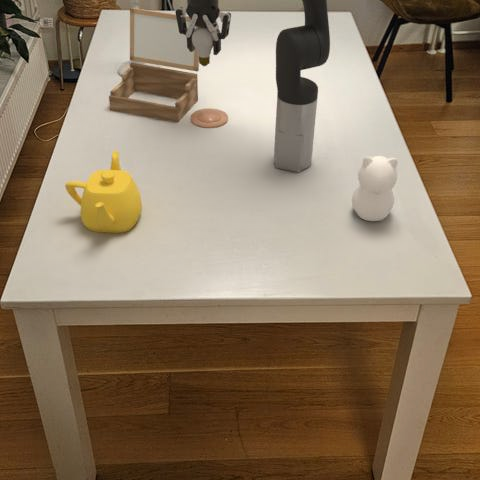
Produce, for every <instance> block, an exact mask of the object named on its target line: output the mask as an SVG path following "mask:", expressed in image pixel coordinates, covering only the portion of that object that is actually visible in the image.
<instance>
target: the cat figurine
mask: <svg viewBox="0 0 480 480" xmlns="http://www.w3.org/2000/svg"><path fill="white" fill-rule="evenodd" d="M397 166H398V158H396V157H389V158H388V157H387V156H386V157H385V156H384V155H375V156H365V157H364V158H363V159H362V164H360V167H359V170H358V172H357V178H358V179H357V180H358V184H357V185H356V186H355V188H354V190H353V193H352V196H351V203H352V207H353V209H354V211H355V212H356V214H357V215H358V217H359V218H361V219H363V220H364V221H368V222H381V221H383V220H385V219H386V217H388V216H389V214H390V212H391V211H392V209H393V207H394V204H395V193H394V190H393V189H394V187H395V185H396V183H397V180H398V170H397Z"/></svg>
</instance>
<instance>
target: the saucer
mask: <svg viewBox="0 0 480 480" xmlns="http://www.w3.org/2000/svg"><path fill="white" fill-rule="evenodd" d="M189 118H190V121H191V124H193V125H195V126H196V127H199V128H204V129H215V128H219V127H222V126H224V125H225V124H227V123H228V121H229V115H228V114H227V113H226V112H225V111H223V110H221V109H218V108H217V109H216V108H202V109H197V110H195V111H193V113H191V114H190V117H189Z"/></svg>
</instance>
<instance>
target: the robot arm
mask: <svg viewBox="0 0 480 480" xmlns="http://www.w3.org/2000/svg"><path fill="white" fill-rule="evenodd" d="M301 2H302V5H303V11H304V25H301V26H294V27H290V28H289V27H288V28H285V29H284V28H283V30H281V31H280V32H279V34H278V36H277V38H276V43H275V83H276V89H277V90H276V91H277V92H276V93H277V95H276V96H277V97H276V98H277V99H276V108H275V109H276V111H275V126H274V127H275V131H274V132H275V133H274V149H273V150H274V151H273V163H274V164H275V165H274V167H275V168H276V169H281V170H286V171H289V172H290V171H291V172H296V173H301V171H302V170H306V169H308V168H309V167H310V166H311V165H312V161H313V160H312V159H313V151H314V150H313V149H314V140H315V138H314V137H315V131H316V130H315V126H316V117H317V107H318V96H319V86H318V85H317V83H316V82H315V81H313V80H312V79H309V78H307V77H303V76H302V75H301V74H302V73H301V72H302V71H303V70H308V69H313V68H318V67H320V66H321V67H322V66H323V65H325V64H326V63H327V61H328V59H329V57H330V51H331V37H330V26H329V25H330V24H329V23H330V22H329V11H328V1H327V0H301ZM186 3H187V6H186V8H185V7H182V6H180V7H178V8H177V9H176V10H175V13H174V14H176V18H177V23H178V29H179V33H180V34H184V35H186V37H187V48H188V49H189V51H190V52H193V51H194V50H195V47H194V45H193V43H192V34H193V32H194V31H195V29H196V27H201V26H202V27H205V28H208V29H209V31H210V33H211V34H212V36H213V38H214V41H213V48H212V49H213V55H214V56H217V55H219V53H220V52H221V50H222V40H225V39H226V38H227V37H228V36H229V34H230V33H229V32H230V28H231V27H230V26H231V19H232V13H231V12H222V11H221V9H220V8H219V0H186ZM185 16H189V18H190V19H191V22H190V24H189V27H188V28H187V25H186V19H185ZM218 18H219V19H220V22H221V30H220V25H219V23H218V21H217V20H218Z"/></svg>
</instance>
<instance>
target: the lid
mask: <svg viewBox="0 0 480 480" xmlns="http://www.w3.org/2000/svg"><path fill="white" fill-rule="evenodd" d="M185 19H186V25H187V28H188V27H189V24H190V22H191V19H190V18H189V16H188V15H186V16H185ZM197 28H198V27H196V29H197ZM196 29H195V30H196ZM130 60H132V61H138V62H144V63H149V64H155V65H159V66H160V67H161V66H162V67H168V68H175V69H180V70H187V71H190V72H191V71H192V72H199V71H200V69H199V68H200V63H199V55H198V53H197V50H196V48H195V50H194V51H193V52H190V51H189V49H188V48H187V37H186V35H184V34H180V33H179V29H178V23H177V18H176V13H170V12H169V13H168V12H161V11H157V10H154V11H153V10H150V9H149V10H148V9H143V8H142V9H141V8H139V9H136V8H131V7H130V8H129V61H130Z"/></svg>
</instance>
